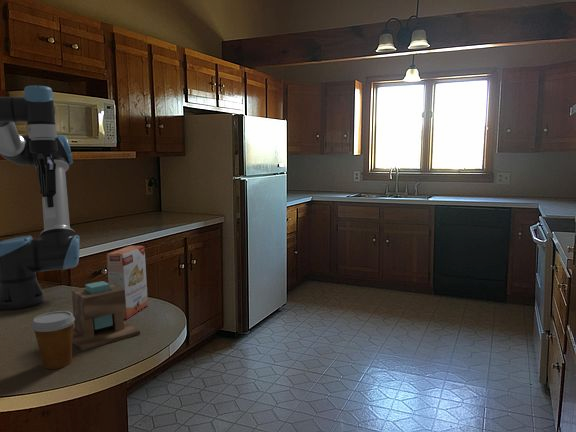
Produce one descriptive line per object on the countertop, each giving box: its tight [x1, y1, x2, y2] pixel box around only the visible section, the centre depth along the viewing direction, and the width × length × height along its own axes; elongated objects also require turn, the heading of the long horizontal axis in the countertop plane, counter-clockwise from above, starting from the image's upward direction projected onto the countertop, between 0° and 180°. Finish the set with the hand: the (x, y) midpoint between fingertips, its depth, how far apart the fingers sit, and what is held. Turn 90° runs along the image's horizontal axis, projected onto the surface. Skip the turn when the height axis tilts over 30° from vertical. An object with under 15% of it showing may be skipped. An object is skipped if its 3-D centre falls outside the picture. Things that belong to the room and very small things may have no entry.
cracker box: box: [106, 245, 149, 320], centre depth 153 cm, size 14×6×21 cm, turn 168°
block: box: [84, 280, 113, 330], centre depth 135 cm, size 5×5×12 cm
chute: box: [71, 282, 141, 352], centre depth 135 cm, size 16×16×13 cm
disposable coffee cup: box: [31, 310, 75, 370], centre depth 116 cm, size 10×10×12 cm
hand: (50, 217), depth 145 cm, fingers closed
